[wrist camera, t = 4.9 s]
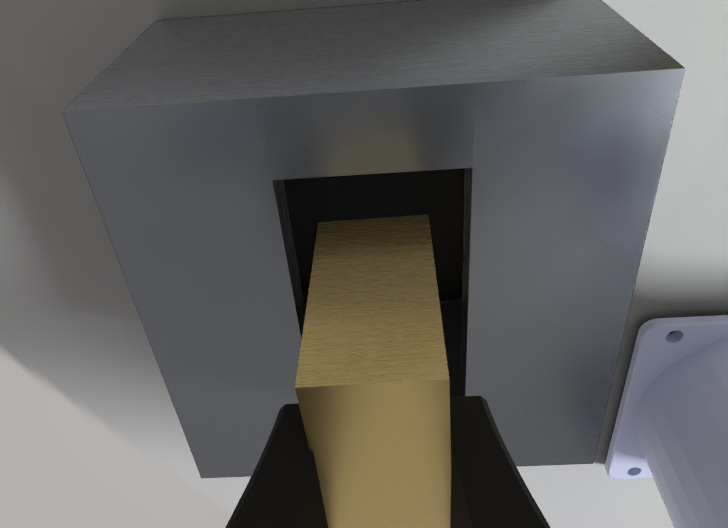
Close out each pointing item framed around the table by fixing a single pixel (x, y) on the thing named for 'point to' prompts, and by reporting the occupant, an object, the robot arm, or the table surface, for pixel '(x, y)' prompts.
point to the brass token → (377, 375)
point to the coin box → (373, 156)
